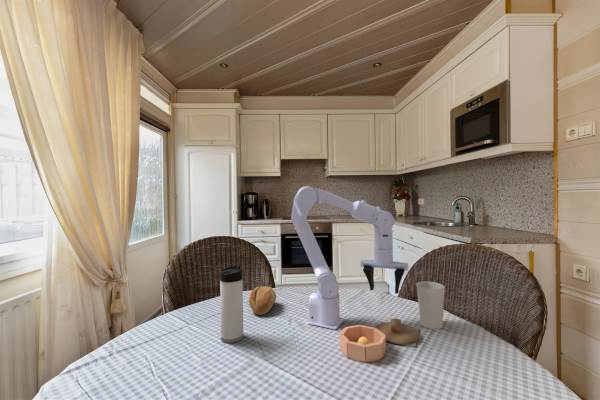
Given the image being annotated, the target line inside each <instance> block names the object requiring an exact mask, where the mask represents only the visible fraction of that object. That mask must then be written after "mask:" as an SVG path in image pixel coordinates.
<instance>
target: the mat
mask: <svg viewBox="0 0 600 400" xmlns="http://www.w3.org/2000/svg"><path fill="white" fill-rule="evenodd" d="M380 323H384V321H381V322H380ZM414 328H415V329H416V330H417V331H418V333H419V334H420V328H417V327H414ZM417 342H418V341H416V342H414V343H411V344H399V345H402V346H404V347H405V346H406V347H409V348H410V347H411V348H417Z"/></svg>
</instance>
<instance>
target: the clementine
mask: <svg viewBox="0 0 600 400" xmlns="http://www.w3.org/2000/svg"><path fill="white" fill-rule="evenodd" d="M358 343H360V344H364V345H366V344H370V342H369V340H368V339H367V338H366V337H360V338H359V340H358Z"/></svg>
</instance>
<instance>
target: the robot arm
mask: <svg viewBox="0 0 600 400" xmlns="http://www.w3.org/2000/svg"><path fill="white" fill-rule="evenodd" d="M316 202H317V205H318V204H329V205H331V206H334V207H337V208H340V209H341V210H345V211H348V212H349V213H350V216H351V217H352V218H354V219H356V220H358V221H361V222H364V223H366V224H368V225H373V250H374V251H373V257H374V258H373V259H361V260H360V261H359V262H360V263H359V264H360V265H359V266H360V267H363V269H362V270H363V273H364V275H365V277H366V280H367V283H368V285H369V291H374V289H375V281H374V279H375V278H374V274H375V273H374V272H375V271H374V270H375V268H378V269H389V270H395V271H393V272H394V284H395V285H394V293H395V294H399V292H400V291H399V290H400V286H401V281H402V278H403V276H404V275H405V272H408V271H409V263H408V262H399V261H394V254H393V253H394V250H393V249H394V247H393V243H394V242H393V227H394V225H395V222H396V219H395V218H394V216H393V214H392V213H391V212H389V211H388V210H383V209H381V206H374V205H371V204H368V203H367V200H363V199H362V200H356V201H350V200H348V199H346V198H343V197H341V196H339V195H337V194H334V193H332V192H330V191H327V190H323V189H320V188H314V187H312V186H310V185H305V186H302V187H300V188H299V189H298V190H297V193H296V194H295V196H294V197H293V203H292V204H293V205H292V210H291V215H290V218H291V221H292V224H293V226H294V228H295V231H296V232H297V233H296V234H297V236H298V238H299V240H300V241H301V244H302V246H303V249H304V251H305V253H306V256H307V258H308V260H309V263H310V265H311V268H312V269H313V272H314V275H315V278H316V279H317V280H316V281H317V284H318V286H317V288H318V290H317V291H316V292H312V293H311V294H310V295H309V300H308V321H307V324H308V325H312V326H317V327H322V328H325V329H326V328H327V329H330V330H337V329H338V328H339V327H340V326H341V324H342V323H343V322H344V321H345V318H344V317H340V315H341V314H340V313H341V312H340V311H341V309H340V308H341V306H340V292H339V291H340V284H339V282H338V280H337V276H336V274H335V273H334V272H333V271H332V270H331V269H330V268H329V266H328V263H327V261H326V259H325V257H324V254H323V252H322V250H321V248H320V246H319V244H318V242H317V239H316V238H315V237H316V236H315V235H314V232H313V230H312V229H311V226H310V224H309V222H308V219H307V217H308V216H309V214H310V210H311V208H312V207H313V206H314V204H316Z"/></svg>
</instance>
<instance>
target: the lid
mask: <svg viewBox="0 0 600 400" xmlns="http://www.w3.org/2000/svg"><path fill="white" fill-rule="evenodd" d="M383 322H384V321H383ZM374 328H377V329H378V330H379V331H381V332H382V333H383V334H384V335H385V336H386V342H387V343H391V344H396V345H400V344H411V343H414V342H416V341H417V342H418V341H419V339H420V332H419V333H418V331H417V330H416V329H415V328H416V327H412V326H411V325H409V324H405V323H402V320H401V319H399V318H391V319H390V321H386V322H384V323H381V322H380V323H378V324H376V325H375V326H374Z"/></svg>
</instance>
